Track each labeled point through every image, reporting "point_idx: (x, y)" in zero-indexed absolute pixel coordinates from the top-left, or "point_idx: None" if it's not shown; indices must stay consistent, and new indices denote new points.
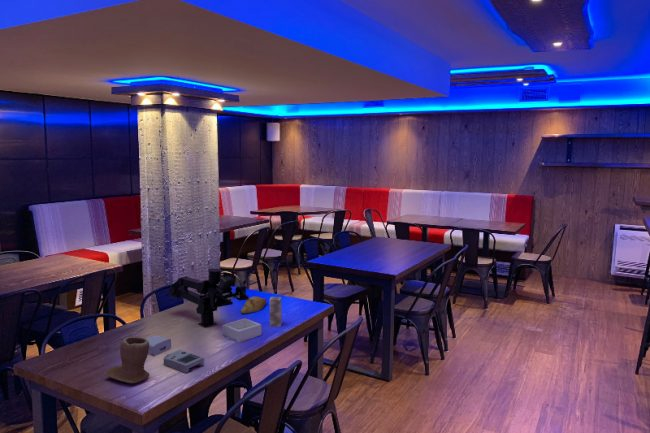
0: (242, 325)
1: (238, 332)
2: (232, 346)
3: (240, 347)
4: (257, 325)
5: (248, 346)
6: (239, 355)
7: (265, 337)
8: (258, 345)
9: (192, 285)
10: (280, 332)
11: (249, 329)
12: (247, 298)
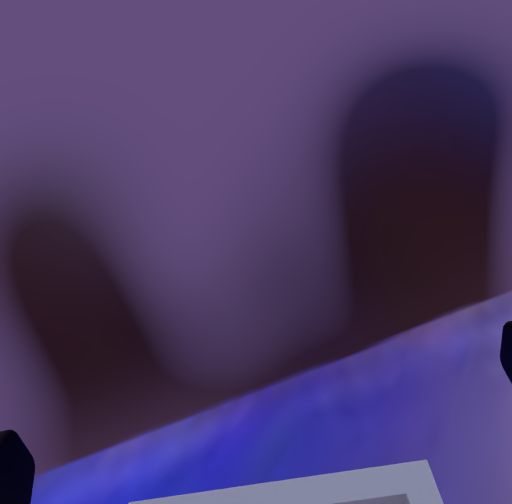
0: None
1: (426, 468)
2: (504, 476)
3: (441, 420)
4: (175, 497)
5: (379, 405)
6: (484, 322)
7: (180, 481)
8: (311, 383)
9: None
10: None
11: (285, 487)
12: (18, 469)
